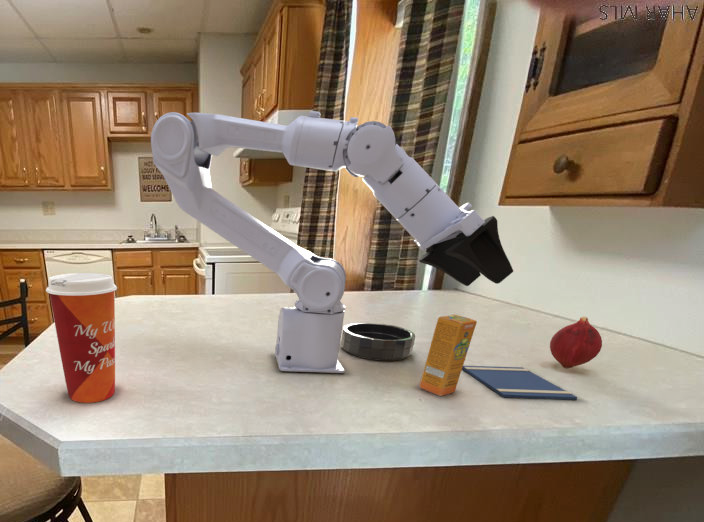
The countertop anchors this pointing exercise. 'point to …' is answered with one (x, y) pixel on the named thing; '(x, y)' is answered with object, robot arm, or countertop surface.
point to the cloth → (517, 383)
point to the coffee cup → (85, 333)
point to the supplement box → (447, 354)
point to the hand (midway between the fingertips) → (488, 279)
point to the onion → (576, 344)
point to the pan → (377, 341)
